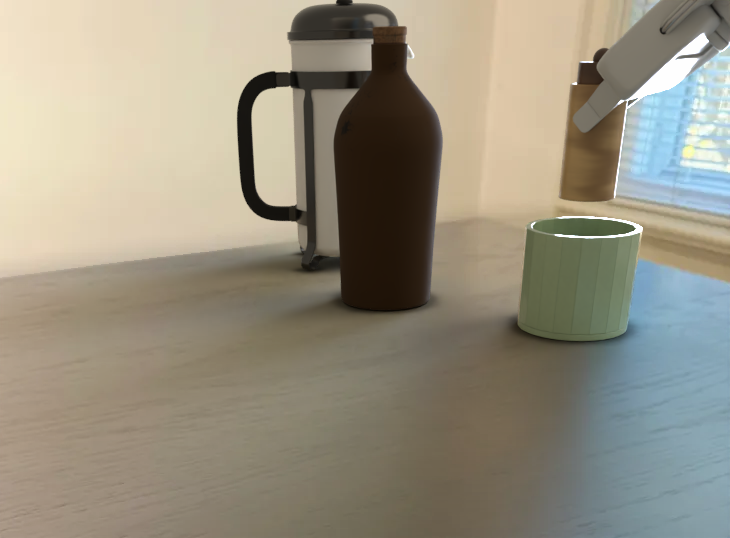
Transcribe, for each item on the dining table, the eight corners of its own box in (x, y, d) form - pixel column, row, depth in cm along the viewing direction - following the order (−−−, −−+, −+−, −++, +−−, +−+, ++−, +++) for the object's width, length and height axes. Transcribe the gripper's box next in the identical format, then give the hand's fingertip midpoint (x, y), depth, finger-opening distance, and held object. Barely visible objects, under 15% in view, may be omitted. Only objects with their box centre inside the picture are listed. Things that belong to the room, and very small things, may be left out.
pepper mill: (609, 193, 80) (628, 47, 75) (619, 202, 76) (640, 47, 70) (555, 193, 81) (570, 48, 75) (562, 202, 77) (578, 48, 71)
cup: (616, 311, 88) (630, 216, 84) (636, 342, 79) (653, 237, 75) (513, 310, 89) (521, 216, 85) (522, 340, 80) (531, 237, 76)
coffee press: (342, 242, 120) (340, -19, 105) (431, 259, 110) (442, -28, 95) (241, 263, 110) (223, -22, 95) (328, 284, 100) (323, -32, 85)
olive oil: (413, 317, 88) (422, 25, 75) (318, 306, 92) (311, 27, 79) (450, 292, 96) (463, 25, 83) (360, 283, 100) (361, 27, 88)
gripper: (746, 14, 59) (580, 166, 68) (772, 18, 75) (635, 141, 84) (687, -62, 59) (529, 100, 68) (726, -43, 74) (593, 88, 83)
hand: (588, 123), depth 76 cm, fingers closed on pepper mill, 5 cm apart
